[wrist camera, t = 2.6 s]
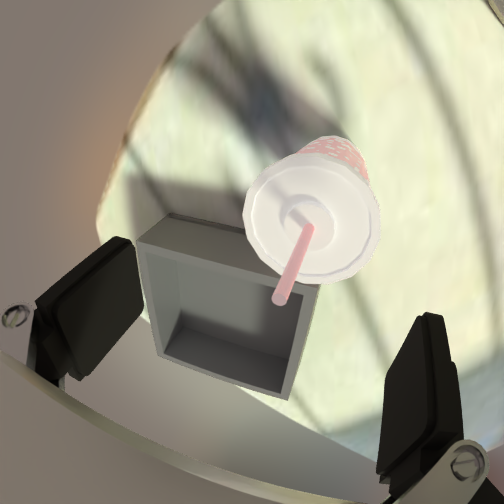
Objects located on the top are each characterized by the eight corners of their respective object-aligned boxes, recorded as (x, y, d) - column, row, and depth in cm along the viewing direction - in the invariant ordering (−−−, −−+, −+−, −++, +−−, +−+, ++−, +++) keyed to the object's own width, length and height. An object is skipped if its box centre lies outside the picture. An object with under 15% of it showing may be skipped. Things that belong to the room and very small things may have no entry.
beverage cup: (370, 216, 22) (356, 381, 10) (286, 202, 23) (197, 342, 12) (383, 131, 18) (406, 225, 7) (290, 119, 20) (177, 190, 9)
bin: (170, 213, 27) (135, 240, 23) (328, 249, 24) (317, 288, 20) (180, 324, 35) (157, 355, 31) (300, 361, 31) (287, 400, 27)
